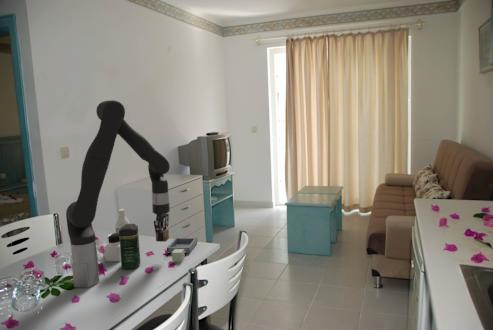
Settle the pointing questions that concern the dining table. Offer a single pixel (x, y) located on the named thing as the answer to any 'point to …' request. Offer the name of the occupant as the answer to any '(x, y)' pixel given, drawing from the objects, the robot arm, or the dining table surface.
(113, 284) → the dining table surface
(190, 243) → the tray
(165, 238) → the walnut block
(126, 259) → the coffee jar
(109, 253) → the medicine bottle
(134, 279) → the dining table surface
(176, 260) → the sage block
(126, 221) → the bath foam
